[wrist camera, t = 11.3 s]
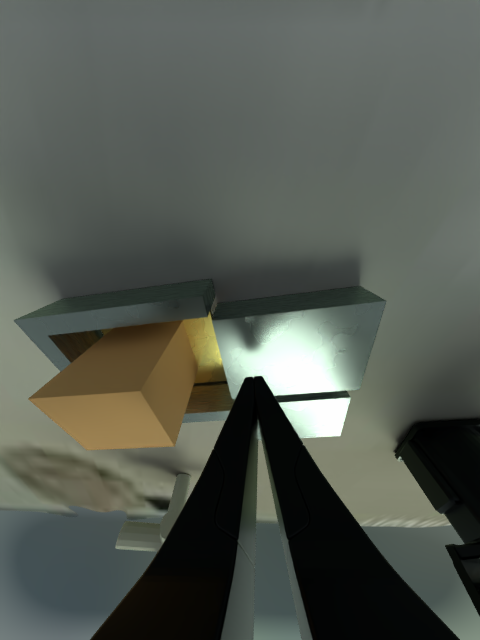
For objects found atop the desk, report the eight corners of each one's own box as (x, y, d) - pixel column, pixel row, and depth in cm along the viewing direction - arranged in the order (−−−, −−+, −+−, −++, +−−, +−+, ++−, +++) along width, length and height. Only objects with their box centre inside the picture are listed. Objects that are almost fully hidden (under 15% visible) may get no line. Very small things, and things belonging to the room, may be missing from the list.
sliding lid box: (366, 257, 9) (406, 270, 7) (340, 380, 13) (359, 411, 11) (62, 298, 10) (13, 320, 8) (131, 396, 15) (111, 427, 12)
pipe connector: (142, 454, 20) (64, 635, 11) (227, 464, 21) (216, 638, 12) (147, 486, 25) (96, 628, 16) (216, 493, 26) (202, 632, 17)
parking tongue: (340, 380, 13) (350, 397, 12) (332, 418, 16) (340, 436, 14) (248, 387, 14) (249, 404, 12) (254, 422, 16) (255, 440, 15)
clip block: (139, 391, 6) (27, 398, 7) (174, 446, 8) (87, 450, 9) (182, 320, 11) (113, 327, 11) (198, 368, 13) (139, 372, 13)
